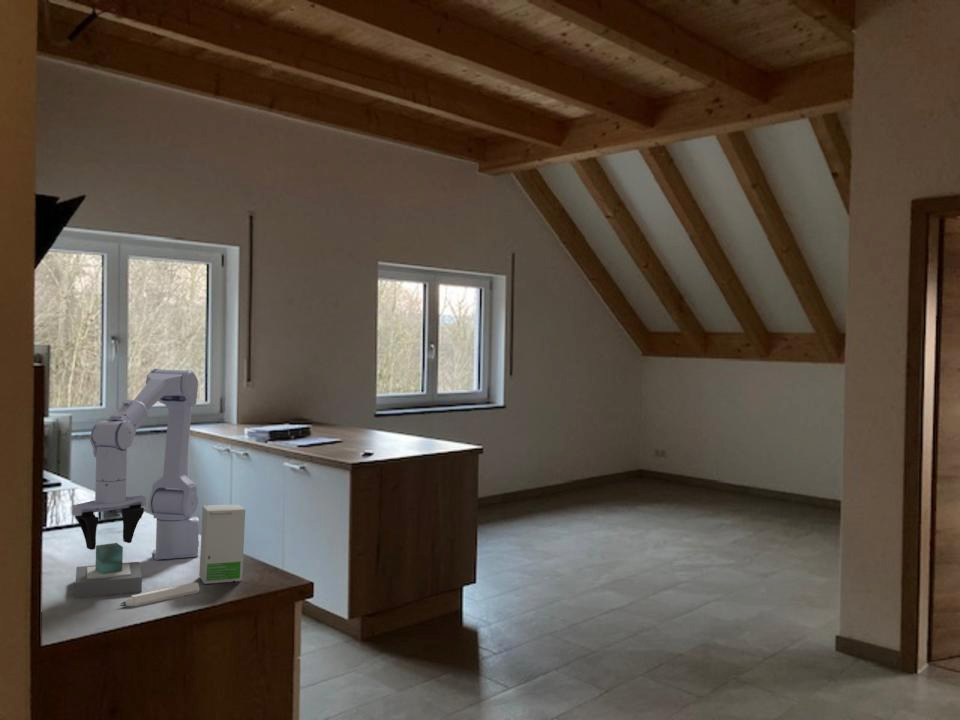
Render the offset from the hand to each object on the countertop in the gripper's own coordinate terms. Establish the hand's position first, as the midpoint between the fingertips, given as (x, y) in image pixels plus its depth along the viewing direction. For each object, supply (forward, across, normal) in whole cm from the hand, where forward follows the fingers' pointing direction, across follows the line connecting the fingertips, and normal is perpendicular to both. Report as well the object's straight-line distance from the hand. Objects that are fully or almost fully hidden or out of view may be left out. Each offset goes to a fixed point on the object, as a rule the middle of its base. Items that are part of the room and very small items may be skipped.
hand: (109, 545), depth 164 cm
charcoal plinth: (+8, 0, 0) cm, 9 cm away
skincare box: (+9, -19, +12) cm, 24 cm away
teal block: (+5, 0, 0) cm, 5 cm away
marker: (+9, -2, +15) cm, 18 cm away
